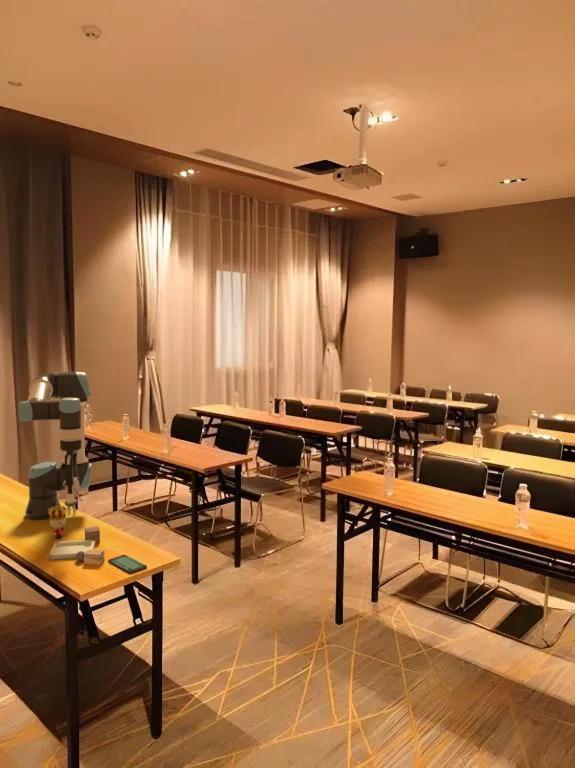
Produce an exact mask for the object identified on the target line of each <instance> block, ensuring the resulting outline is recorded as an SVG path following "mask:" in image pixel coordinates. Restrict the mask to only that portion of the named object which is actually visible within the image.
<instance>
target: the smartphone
mask: <svg viewBox="0 0 575 768" xmlns="http://www.w3.org/2000/svg"><path fill="white" fill-rule="evenodd" d="M107 562H108V563H109V564H111V565H113V566H114V567H116V568H118V569H120V570H122V571H123V572H125V573H127V574H129V575H132V574H135V573H137V572H140V571H144V570H146V569H147V568H148V567H147V566H148V565H146V564H144V563H143V562H141V561H139V560H137V559H134V558H132V557H130V556H129V555H126V554H123V555H122V554H121V555H119V556H115V557H112V558H110V559H108V561H107Z"/></svg>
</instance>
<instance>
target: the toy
mask: <svg viewBox="0 0 575 768" xmlns="http://www.w3.org/2000/svg"><path fill="white" fill-rule="evenodd" d="M59 502H60V501H59ZM59 502H57V503H59ZM53 508H55V509H53ZM60 508H61V509H60ZM49 510H50V511H49ZM54 510H55V512H53V511H54ZM60 510H61V511H60ZM67 512H68V508H67V506H64V505H61V507H60V506H59V505H58V504H57V505H56V506H55V507H54V506H53V507H51V508H50V509H48V513H49V525H50V526H51V527H52V528H54V529H55V530H54V531H52V534H53V536H55V539H61V538H62V537H63V534H64V533H63V531H64V530H65V525H66V524H67V523H66V522H67Z"/></svg>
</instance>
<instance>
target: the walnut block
mask: <svg viewBox="0 0 575 768" xmlns="http://www.w3.org/2000/svg"><path fill="white" fill-rule="evenodd" d="M94 539H95V544H96V543H101V530H100V528H99V526H98V525H96V526H88V527H84V540H94Z"/></svg>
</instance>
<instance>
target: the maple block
mask: <svg viewBox="0 0 575 768" xmlns="http://www.w3.org/2000/svg"><path fill="white" fill-rule="evenodd" d="M105 559H106V557H105V549H95V548H94V549H88V550H87V551H86V552H85V553H84V560H83V562H84V563H83V564H85V565H98V566H99V565H101V564H103V562H104V561H105Z"/></svg>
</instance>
